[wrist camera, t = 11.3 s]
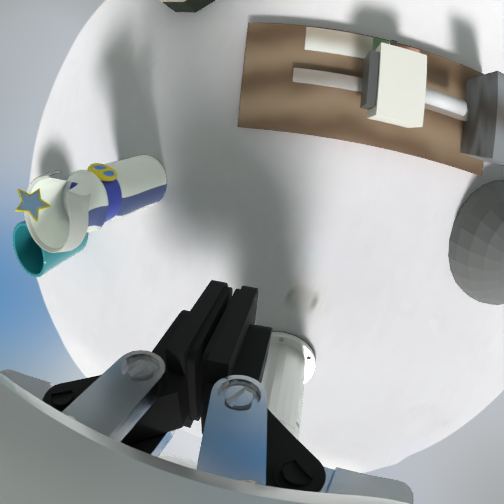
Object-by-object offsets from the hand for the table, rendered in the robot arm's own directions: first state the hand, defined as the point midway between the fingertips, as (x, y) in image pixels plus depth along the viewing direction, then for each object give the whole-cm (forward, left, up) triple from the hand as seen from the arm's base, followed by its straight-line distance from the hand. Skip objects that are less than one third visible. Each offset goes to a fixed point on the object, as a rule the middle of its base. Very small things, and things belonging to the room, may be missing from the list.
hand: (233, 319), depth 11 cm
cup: (-9, +37, -29) cm, 48 cm away
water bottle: (-1, +21, -29) cm, 36 cm away
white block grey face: (+15, -13, -26) cm, 33 cm away
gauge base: (+14, -9, -29) cm, 34 cm away
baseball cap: (-1, -36, -30) cm, 47 cm away
